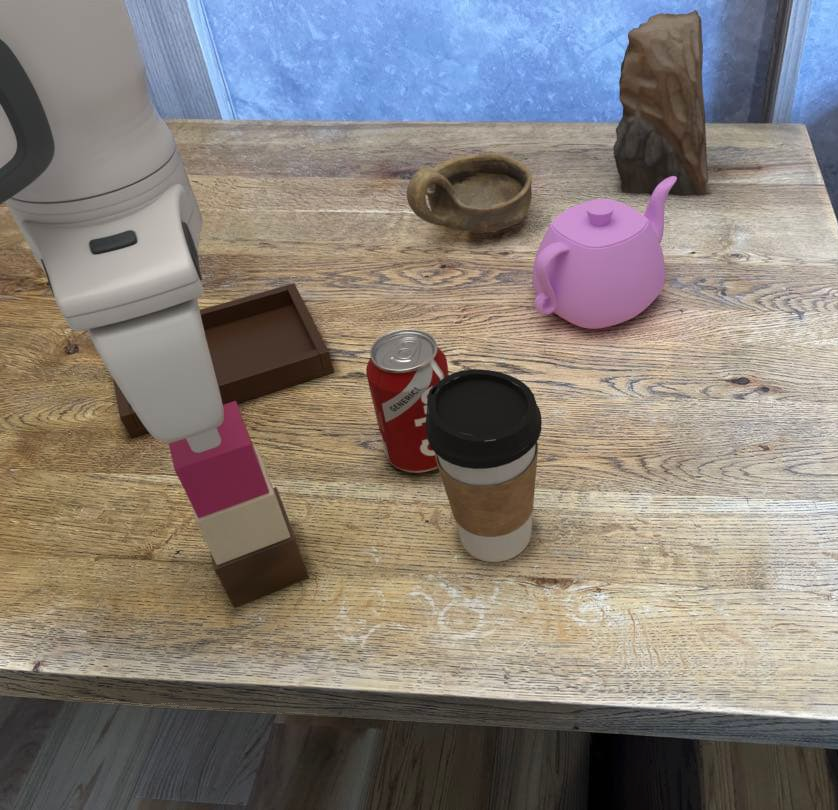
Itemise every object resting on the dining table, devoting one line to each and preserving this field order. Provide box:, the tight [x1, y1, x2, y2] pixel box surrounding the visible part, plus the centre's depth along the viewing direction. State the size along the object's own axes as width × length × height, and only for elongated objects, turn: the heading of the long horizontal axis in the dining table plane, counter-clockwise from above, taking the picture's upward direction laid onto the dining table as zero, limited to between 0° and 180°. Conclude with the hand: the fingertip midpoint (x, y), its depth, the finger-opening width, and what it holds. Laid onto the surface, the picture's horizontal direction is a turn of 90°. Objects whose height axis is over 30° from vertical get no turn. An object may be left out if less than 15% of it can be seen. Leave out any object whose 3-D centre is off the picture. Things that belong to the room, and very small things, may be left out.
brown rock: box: [612, 9, 709, 196], centre depth 107 cm, size 13×13×20 cm
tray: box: [112, 282, 335, 439], centre depth 85 cm, size 20×14×3 cm
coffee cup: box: [425, 368, 543, 563], centre depth 63 cm, size 8×8×15 cm
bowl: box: [406, 152, 533, 234], centre depth 101 cm, size 14×18×10 cm
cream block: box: [190, 446, 290, 565], centre depth 61 cm, size 6×6×5 cm
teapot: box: [531, 176, 677, 330], centre depth 88 cm, size 20×13×12 cm, turn 130°
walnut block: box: [209, 486, 310, 609], centre depth 64 cm, size 6×6×5 cm
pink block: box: [167, 401, 269, 518], centre depth 58 cm, size 5×5×5 cm
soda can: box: [365, 328, 450, 474], centre depth 71 cm, size 7×7×12 cm
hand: (194, 398), depth 54 cm, fingers open, 8 cm apart
